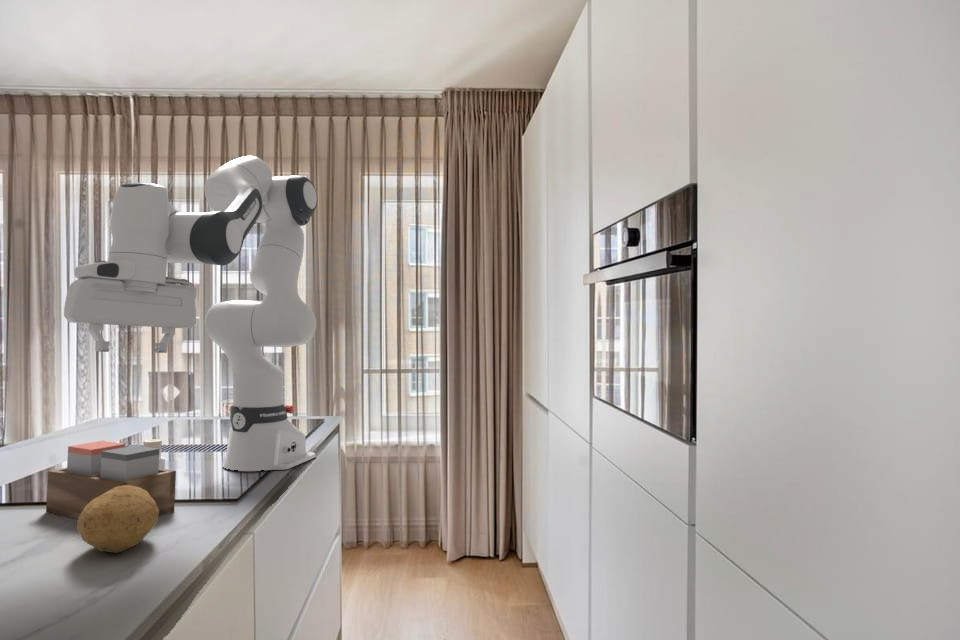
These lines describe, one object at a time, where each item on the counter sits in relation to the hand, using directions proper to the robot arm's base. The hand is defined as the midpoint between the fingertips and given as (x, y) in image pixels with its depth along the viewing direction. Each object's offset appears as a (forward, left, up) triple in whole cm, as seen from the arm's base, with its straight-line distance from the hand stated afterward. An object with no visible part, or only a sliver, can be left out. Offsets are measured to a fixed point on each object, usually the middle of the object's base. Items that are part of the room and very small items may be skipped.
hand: (132, 352), depth 99 cm
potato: (+12, +14, -28) cm, 33 cm away
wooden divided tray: (+1, -2, -28) cm, 28 cm away
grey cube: (+1, +2, -23) cm, 23 cm away
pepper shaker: (-12, -9, -28) cm, 32 cm away
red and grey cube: (+1, -6, -22) cm, 23 cm away
